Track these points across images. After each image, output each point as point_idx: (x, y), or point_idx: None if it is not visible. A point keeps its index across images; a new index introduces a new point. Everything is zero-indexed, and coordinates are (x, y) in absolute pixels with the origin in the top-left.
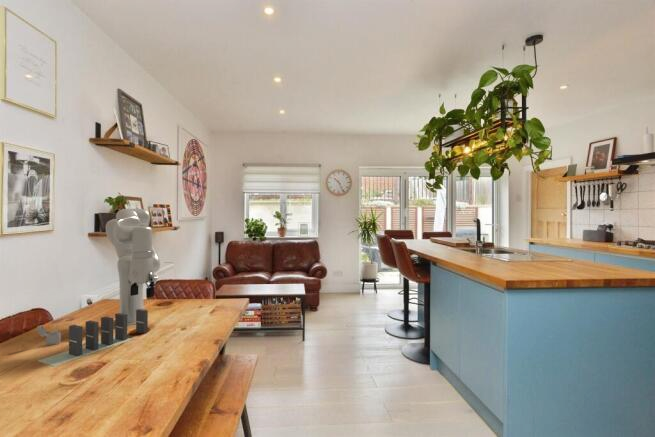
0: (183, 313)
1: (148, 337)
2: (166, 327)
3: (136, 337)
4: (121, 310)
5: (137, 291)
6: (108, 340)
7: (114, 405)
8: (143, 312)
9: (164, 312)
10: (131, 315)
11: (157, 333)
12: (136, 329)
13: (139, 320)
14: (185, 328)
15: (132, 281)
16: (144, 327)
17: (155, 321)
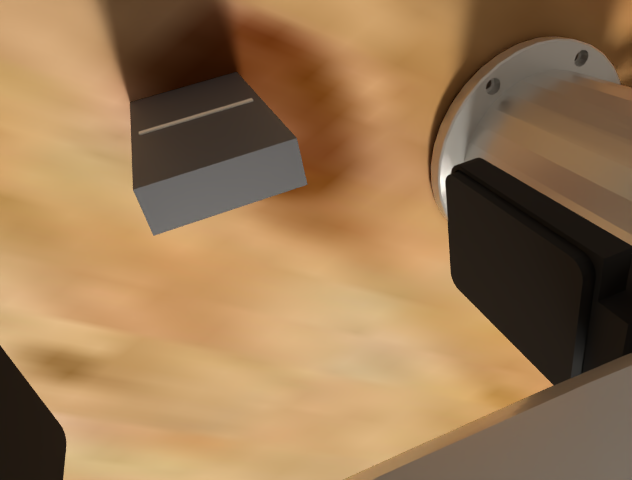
0: (405, 425)
1: (13, 101)
2: (196, 286)
3: (99, 22)
4: (624, 97)
5: (482, 299)
6: None
7: None
8: (147, 176)
9: (518, 353)
10: (513, 148)
11: (83, 194)
12: (239, 80)
13: (210, 118)
14: (58, 375)
15: (616, 403)
16: (131, 124)
17: (400, 269)
